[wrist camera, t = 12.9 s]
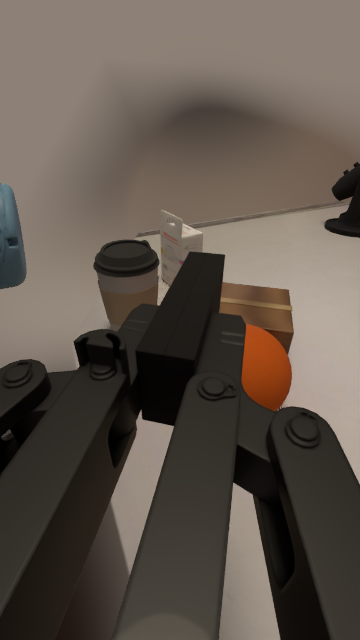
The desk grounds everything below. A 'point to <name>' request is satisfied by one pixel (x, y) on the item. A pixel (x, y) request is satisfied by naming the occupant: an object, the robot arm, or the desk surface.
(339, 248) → the desk surface
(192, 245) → the ink cartridge box
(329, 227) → the microphone
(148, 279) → the coffee cup
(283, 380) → the ball
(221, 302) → the box
